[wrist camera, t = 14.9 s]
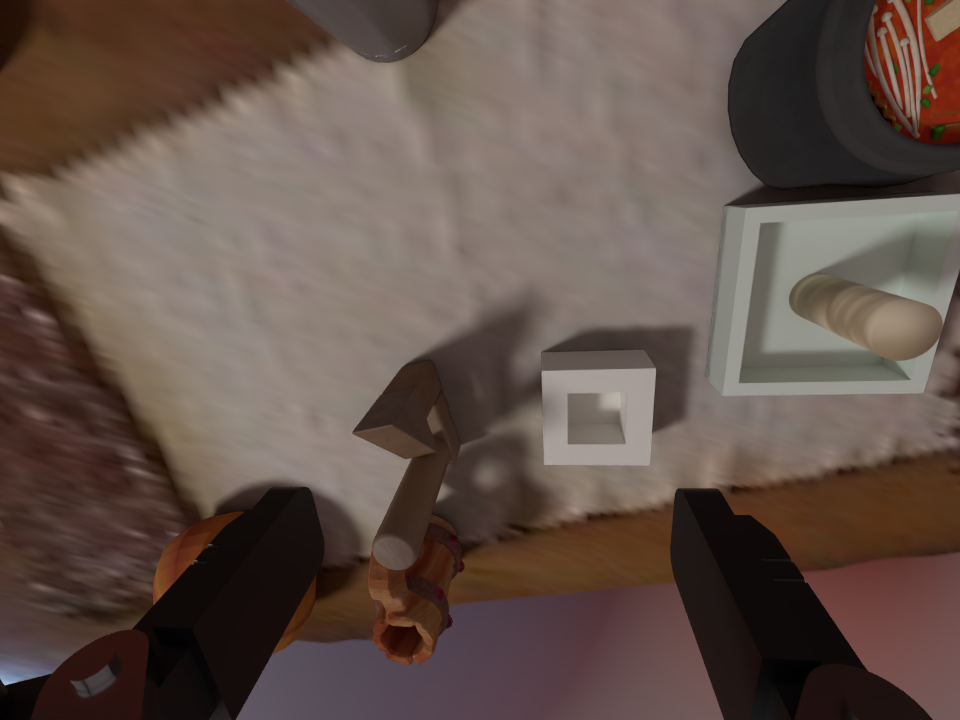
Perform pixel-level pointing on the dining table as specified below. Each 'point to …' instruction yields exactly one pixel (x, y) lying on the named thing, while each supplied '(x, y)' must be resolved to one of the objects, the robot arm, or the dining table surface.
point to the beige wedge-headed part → (411, 434)
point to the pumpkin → (187, 551)
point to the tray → (833, 251)
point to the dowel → (867, 316)
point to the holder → (597, 407)
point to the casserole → (849, 93)
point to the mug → (416, 596)
